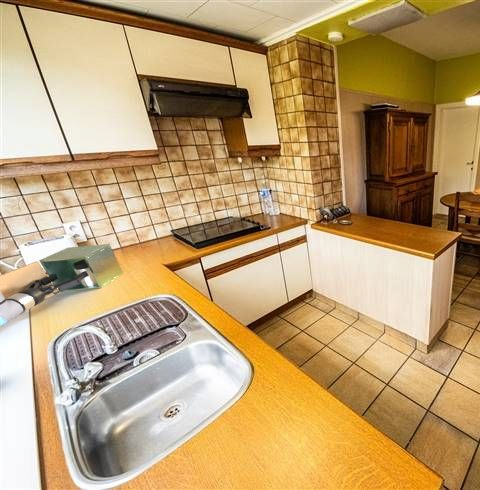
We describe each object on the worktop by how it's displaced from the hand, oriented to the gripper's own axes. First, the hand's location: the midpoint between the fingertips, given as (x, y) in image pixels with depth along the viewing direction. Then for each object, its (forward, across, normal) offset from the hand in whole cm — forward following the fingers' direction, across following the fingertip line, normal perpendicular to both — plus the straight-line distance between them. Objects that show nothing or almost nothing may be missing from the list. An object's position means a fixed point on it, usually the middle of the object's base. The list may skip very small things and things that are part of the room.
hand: (71, 274), depth 128 cm
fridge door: (-10, -14, -9) cm, 20 cm away
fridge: (+7, 0, -9) cm, 12 cm away
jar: (+6, +3, -8) cm, 10 cm away
